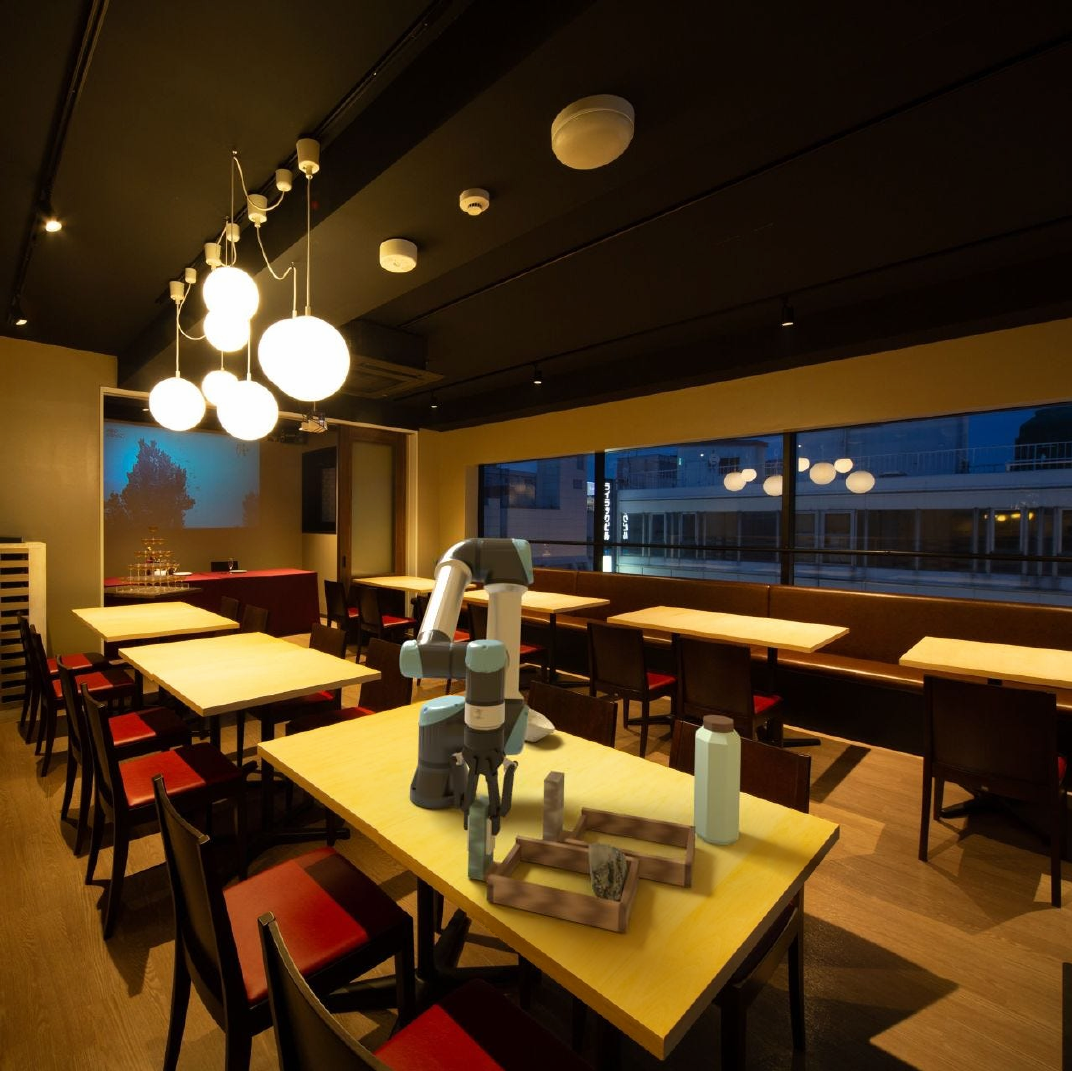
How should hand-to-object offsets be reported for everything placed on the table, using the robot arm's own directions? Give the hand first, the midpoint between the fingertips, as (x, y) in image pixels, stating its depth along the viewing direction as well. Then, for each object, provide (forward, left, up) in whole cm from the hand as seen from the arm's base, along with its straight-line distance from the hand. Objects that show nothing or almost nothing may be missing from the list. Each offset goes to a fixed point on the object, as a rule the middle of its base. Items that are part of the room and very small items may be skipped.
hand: (481, 848), depth 109 cm
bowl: (-14, +73, -5) cm, 74 cm away
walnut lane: (+13, 0, -4) cm, 14 cm away
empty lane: (+23, +17, -4) cm, 28 cm away
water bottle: (+42, +31, -5) cm, 52 cm away
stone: (+24, +1, -5) cm, 24 cm away
